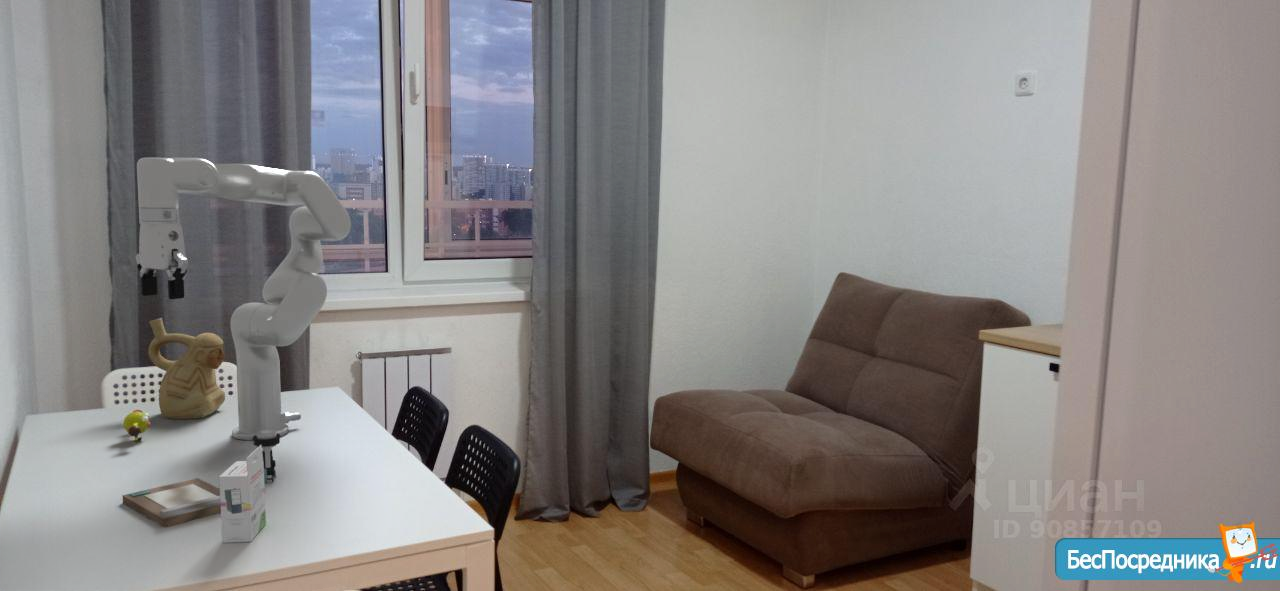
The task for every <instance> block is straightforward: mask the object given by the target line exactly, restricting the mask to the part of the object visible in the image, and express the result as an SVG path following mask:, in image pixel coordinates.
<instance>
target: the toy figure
mask: <svg viewBox="0 0 1280 591" xmlns="http://www.w3.org/2000/svg"><path fill="white" fill-rule="evenodd" d="M149 416H150V415H149V413H147V412H143V411H142V410H141V409H135V410H133V411H132V412H130V413H128V414H127V415H126V416H125V417H124V420H123V428H124V430H125V431H126V432H127V434H129V436H131V437H134V442H140V441H142V439H143V437H142V436H140V434H142V433H144V432H145V431H146V430H148V429H149V428H151V425H152V424H151V422H150V419H149ZM139 436H140V437H139Z"/></svg>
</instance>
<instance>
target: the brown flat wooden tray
mask: <svg viewBox="0 0 1280 591" xmlns="http://www.w3.org/2000/svg"><path fill="white" fill-rule="evenodd" d="M122 504H124V505H125V506H127V507H129V508H130V509H132V510H134V511H136V512H137V513H139V514H141V515H143V516H144V517H146V518H147V519H149V520H151V521H152V522H154V523H156V524H158V525H160V526H161V527H163V528H166V527H170V526H174V525H178V524H181V523H185V522H189V521H193V520H196V519H199V518H204V517H207V516H208V517H209V516H212V515H215V514H219V513H220V514H221V502H220V487H217V486H215V485H213V484H211V483H209V482H206V481H204V480H203V479H200V478H199V477H198V478H197V477H196V478H193V479H188V480H183V481H179V482H175V483H170V484H166V485H162V486H157V487H152V488H148V489H145V490H138V491H135V492H129V493H126V494H122Z"/></svg>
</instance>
